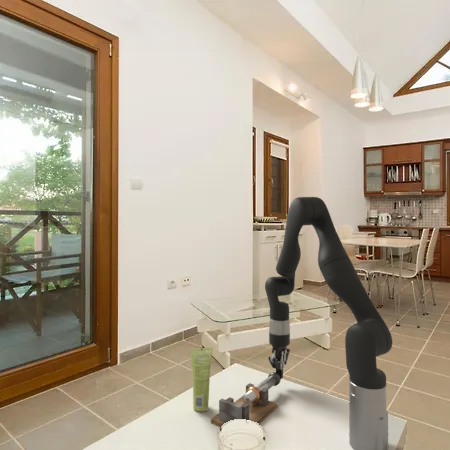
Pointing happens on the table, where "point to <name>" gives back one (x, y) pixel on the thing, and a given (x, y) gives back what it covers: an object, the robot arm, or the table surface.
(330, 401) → the table surface
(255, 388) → the shaft
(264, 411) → the bearing board
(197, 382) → the tube
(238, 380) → the table surface
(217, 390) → the table surface
